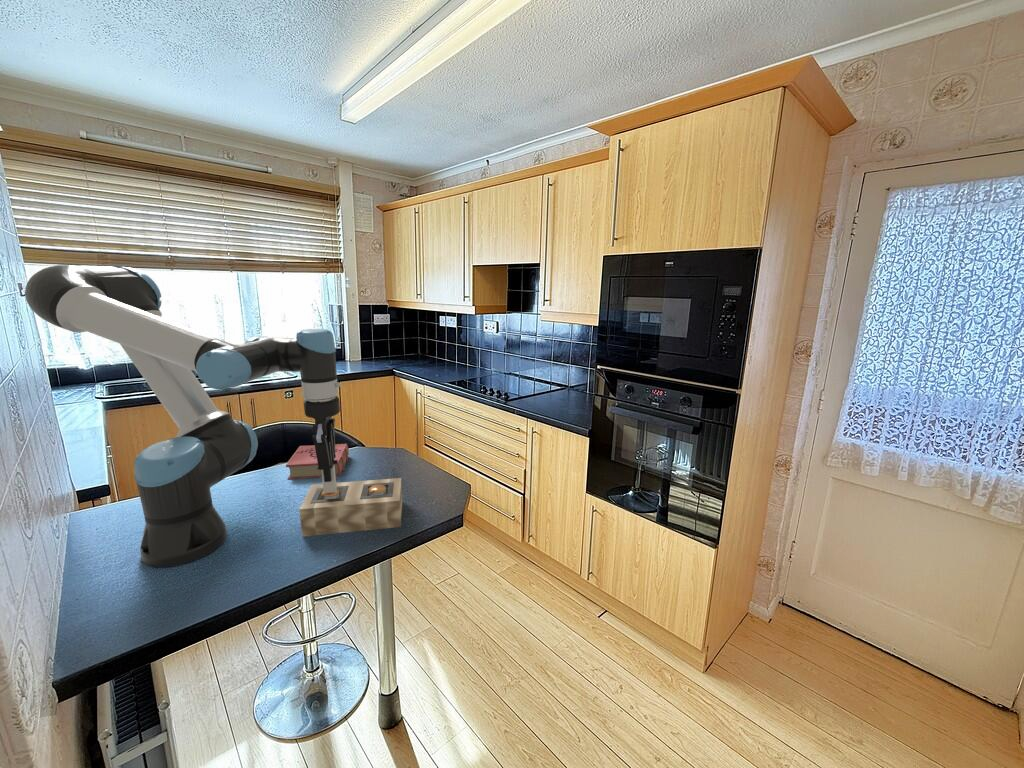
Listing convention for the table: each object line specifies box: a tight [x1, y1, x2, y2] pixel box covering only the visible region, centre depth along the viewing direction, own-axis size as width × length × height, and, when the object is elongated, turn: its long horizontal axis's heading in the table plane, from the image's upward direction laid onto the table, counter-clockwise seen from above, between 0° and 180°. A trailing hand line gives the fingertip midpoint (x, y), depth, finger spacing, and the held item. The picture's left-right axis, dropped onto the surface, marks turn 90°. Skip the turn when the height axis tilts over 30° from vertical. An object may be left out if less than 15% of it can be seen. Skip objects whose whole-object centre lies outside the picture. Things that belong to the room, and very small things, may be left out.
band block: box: [299, 477, 403, 538], centre depth 106 cm, size 22×12×7 cm, turn 102°
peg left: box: [321, 489, 340, 500], centre depth 105 cm, size 4×4×7 cm
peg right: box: [369, 485, 386, 496], centre depth 107 cm, size 4×4×7 cm
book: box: [285, 443, 350, 480], centre depth 134 cm, size 14×15×5 cm
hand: (330, 491), depth 104 cm, fingers closed
